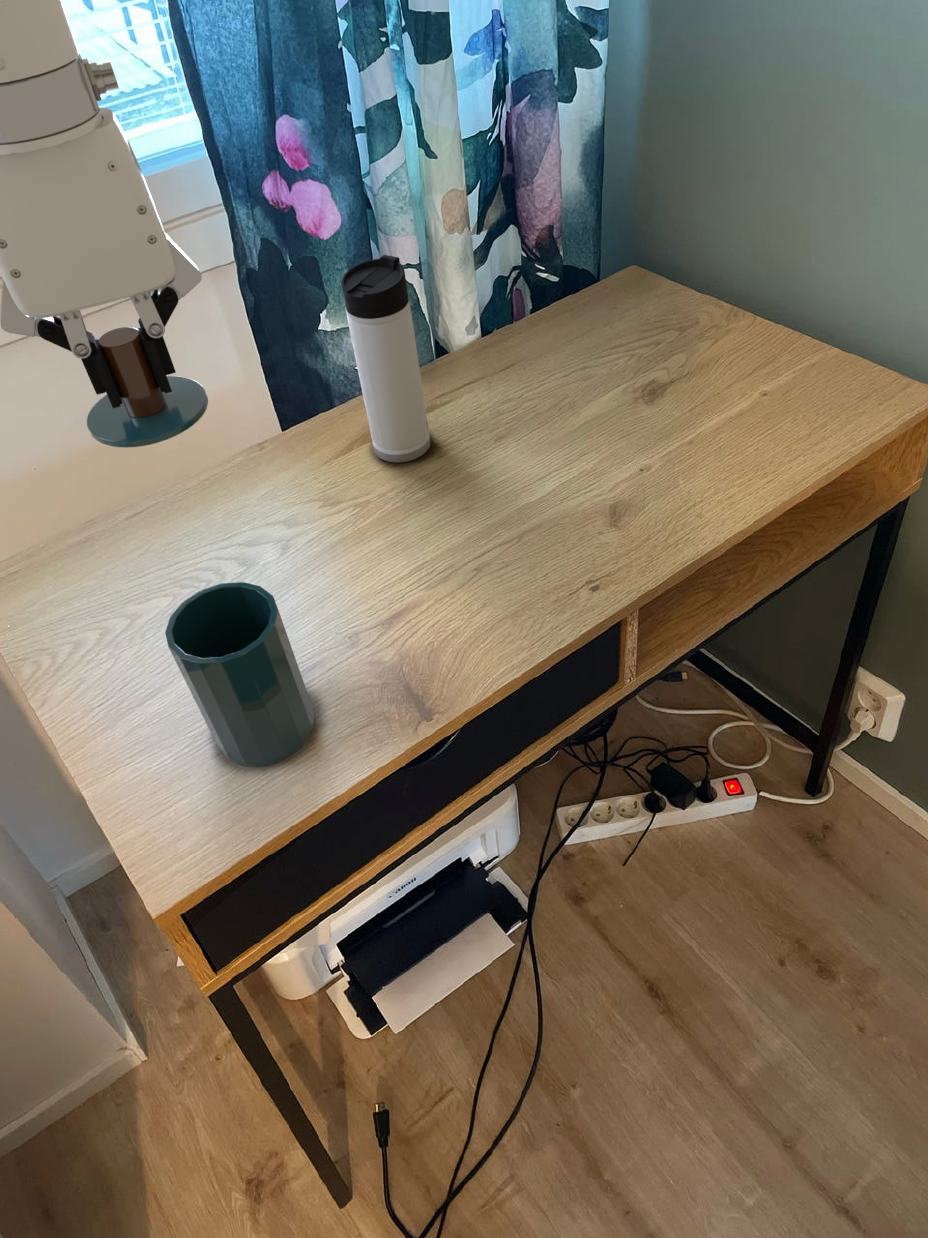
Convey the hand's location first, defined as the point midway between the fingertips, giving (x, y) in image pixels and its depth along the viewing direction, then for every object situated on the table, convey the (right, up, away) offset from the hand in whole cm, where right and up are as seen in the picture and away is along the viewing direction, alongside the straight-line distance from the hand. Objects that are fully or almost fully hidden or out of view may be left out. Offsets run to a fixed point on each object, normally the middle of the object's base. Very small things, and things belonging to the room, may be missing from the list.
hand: (139, 389), depth 63 cm
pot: (+7, -25, +10) cm, 28 cm away
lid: (0, -1, +1) cm, 2 cm away
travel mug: (+16, +3, +35) cm, 39 cm away
